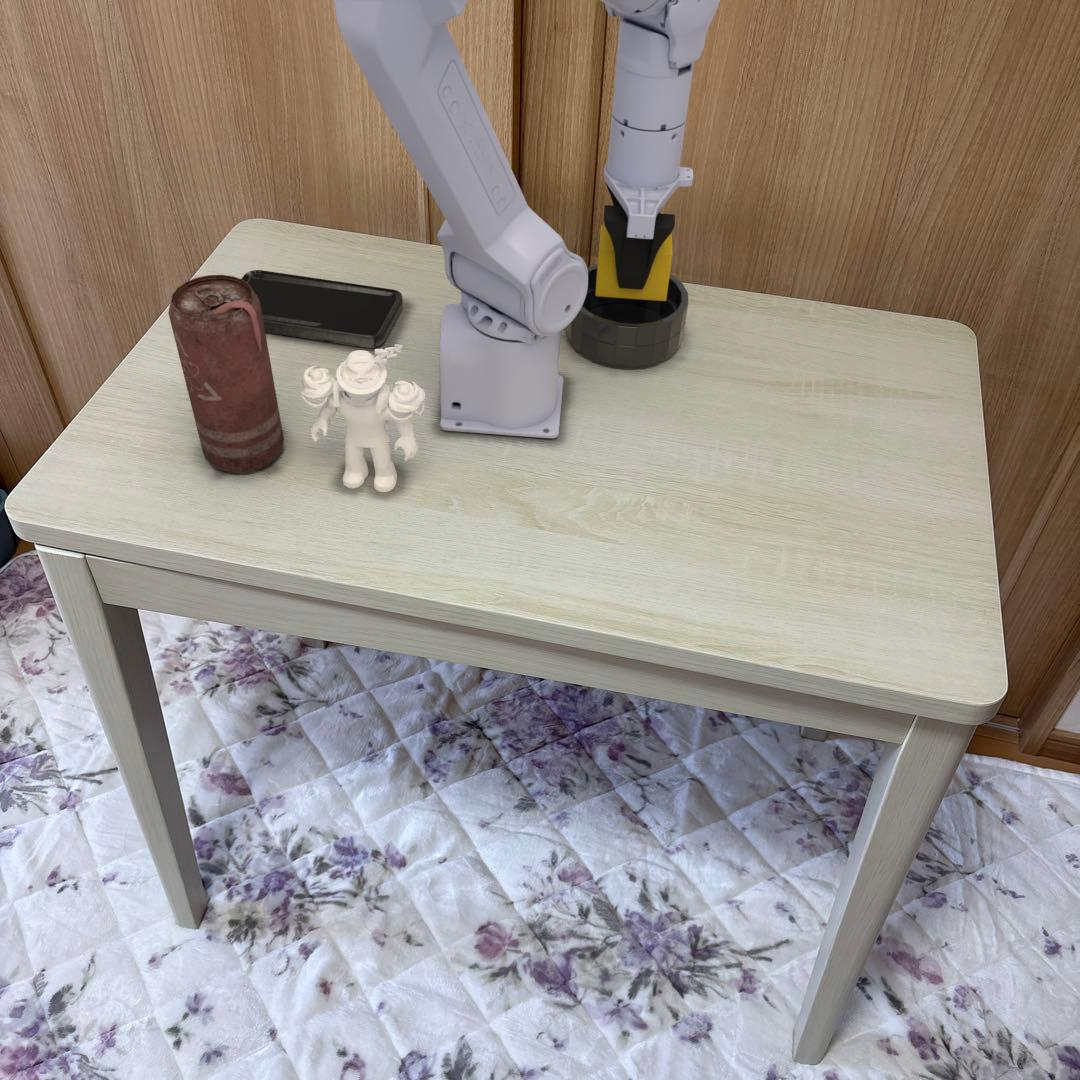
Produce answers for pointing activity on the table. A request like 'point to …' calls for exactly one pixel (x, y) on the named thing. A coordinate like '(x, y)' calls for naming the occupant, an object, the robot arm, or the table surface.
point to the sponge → (655, 282)
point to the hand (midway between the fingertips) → (631, 272)
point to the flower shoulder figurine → (365, 413)
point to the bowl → (629, 327)
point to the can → (227, 372)
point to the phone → (325, 308)
